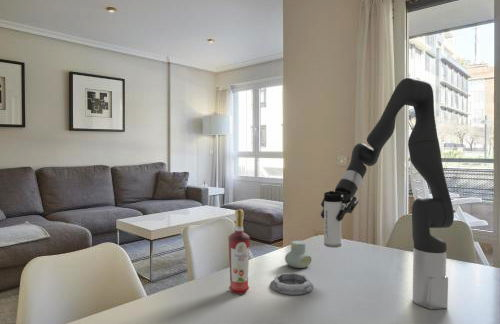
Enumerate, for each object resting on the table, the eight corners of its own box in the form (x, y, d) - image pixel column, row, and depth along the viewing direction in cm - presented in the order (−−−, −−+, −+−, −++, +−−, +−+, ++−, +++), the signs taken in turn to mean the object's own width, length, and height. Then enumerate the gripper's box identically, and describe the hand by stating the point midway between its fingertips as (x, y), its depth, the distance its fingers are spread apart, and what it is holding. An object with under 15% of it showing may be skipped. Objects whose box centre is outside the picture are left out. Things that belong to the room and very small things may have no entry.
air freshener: (296, 271, 136) (296, 246, 136) (281, 266, 143) (281, 242, 142) (314, 265, 143) (314, 242, 143) (299, 260, 150) (299, 238, 149)
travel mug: (339, 243, 131) (339, 191, 131) (342, 248, 125) (342, 193, 124) (323, 242, 132) (323, 190, 131) (325, 247, 125) (325, 193, 125)
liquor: (230, 297, 113) (230, 212, 112) (226, 288, 120) (226, 208, 119) (252, 294, 115) (252, 211, 114) (246, 286, 122) (246, 207, 121)
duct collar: (319, 293, 116) (319, 286, 116) (276, 296, 113) (276, 289, 113) (304, 277, 130) (304, 270, 130) (266, 279, 128) (266, 272, 128)
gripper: (329, 177, 138) (310, 209, 130) (361, 179, 127) (342, 215, 119) (337, 189, 141) (319, 221, 134) (369, 192, 130) (351, 227, 123)
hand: (330, 218), depth 127 cm, fingers closed on travel mug, 6 cm apart
